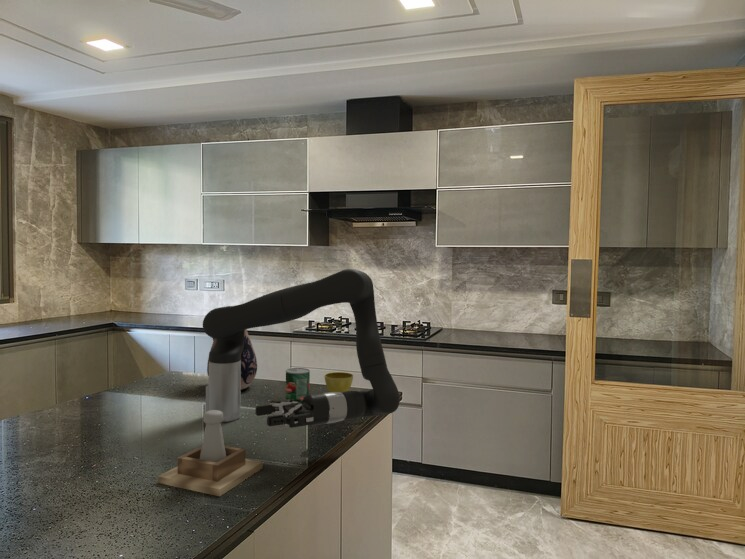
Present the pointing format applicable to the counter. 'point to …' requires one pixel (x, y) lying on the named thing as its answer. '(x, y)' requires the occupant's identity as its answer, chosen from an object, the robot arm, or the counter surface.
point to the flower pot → (338, 381)
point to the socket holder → (211, 472)
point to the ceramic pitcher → (245, 362)
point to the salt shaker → (213, 437)
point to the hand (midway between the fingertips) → (261, 416)
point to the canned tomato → (297, 383)
